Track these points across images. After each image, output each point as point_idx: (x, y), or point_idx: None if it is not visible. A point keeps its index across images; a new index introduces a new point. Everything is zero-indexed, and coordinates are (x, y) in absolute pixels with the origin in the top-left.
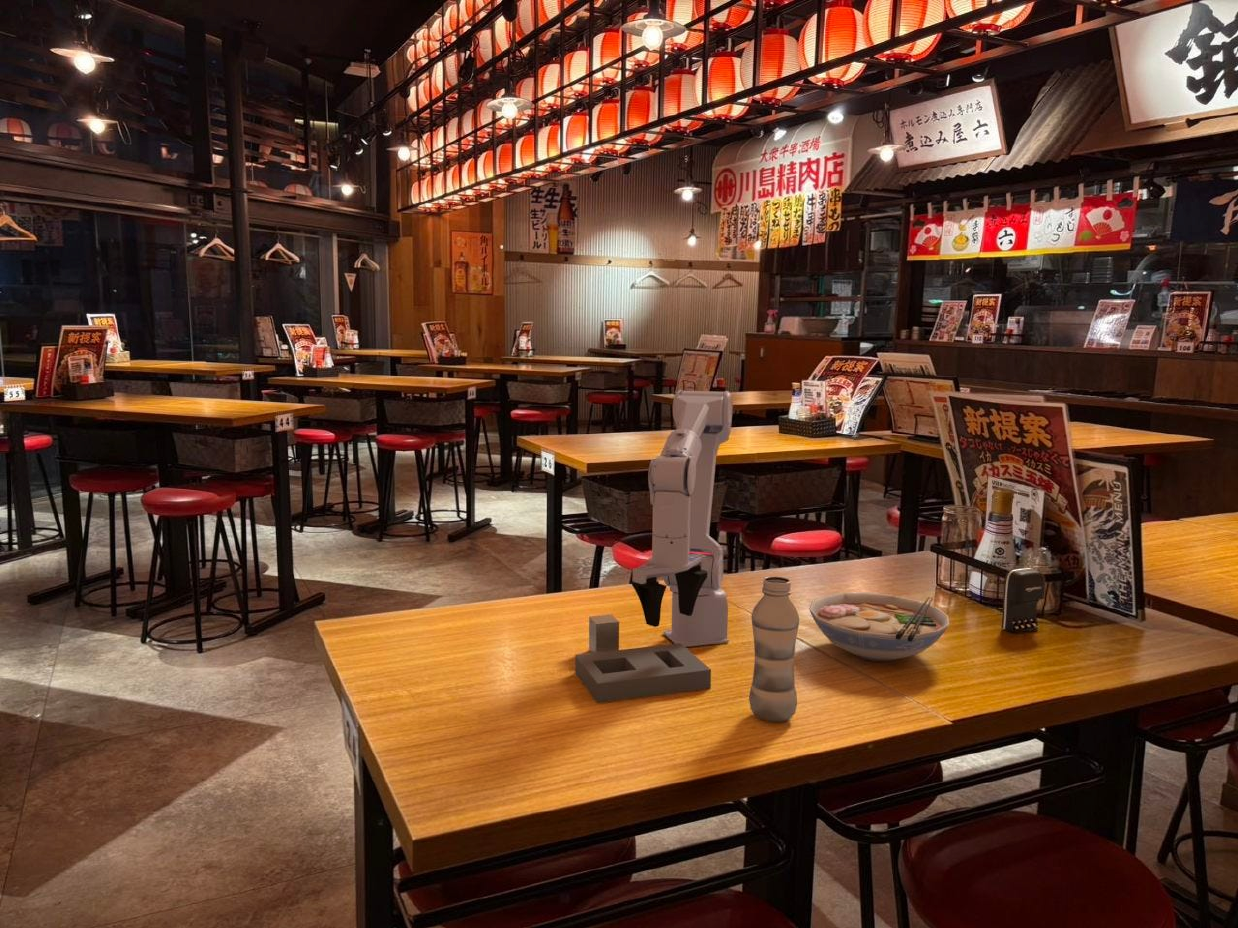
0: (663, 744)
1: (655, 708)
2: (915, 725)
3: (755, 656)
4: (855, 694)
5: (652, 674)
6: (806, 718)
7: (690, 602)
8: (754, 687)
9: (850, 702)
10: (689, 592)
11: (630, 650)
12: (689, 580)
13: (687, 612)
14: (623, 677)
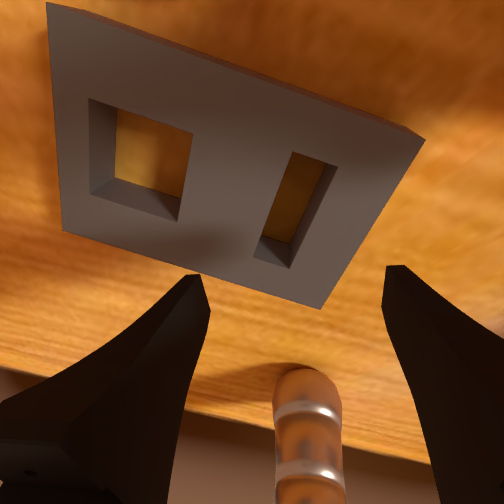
0: None
1: (177, 280)
2: (417, 456)
3: (281, 475)
4: None
5: (195, 260)
6: None
7: (400, 355)
8: (277, 418)
9: None
10: (422, 392)
11: (241, 91)
12: (451, 471)
13: (384, 309)
14: (128, 237)
